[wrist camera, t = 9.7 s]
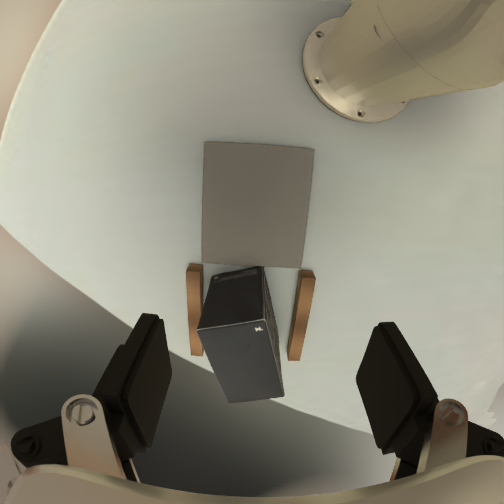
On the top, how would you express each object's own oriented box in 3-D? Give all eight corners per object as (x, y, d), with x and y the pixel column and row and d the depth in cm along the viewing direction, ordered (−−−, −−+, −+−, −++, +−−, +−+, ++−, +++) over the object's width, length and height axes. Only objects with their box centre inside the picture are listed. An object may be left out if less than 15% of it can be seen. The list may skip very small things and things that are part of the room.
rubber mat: (205, 142, 27) (204, 141, 27) (313, 149, 28) (314, 149, 27) (202, 260, 32) (201, 262, 31) (300, 266, 32) (301, 268, 32)
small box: (207, 275, 33) (191, 329, 23) (263, 263, 32) (268, 316, 22) (230, 345, 36) (225, 406, 27) (279, 336, 36) (287, 397, 26)
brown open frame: (189, 263, 32) (186, 271, 30) (312, 270, 32) (315, 278, 31) (193, 345, 36) (191, 355, 34) (297, 350, 37) (299, 360, 35)
